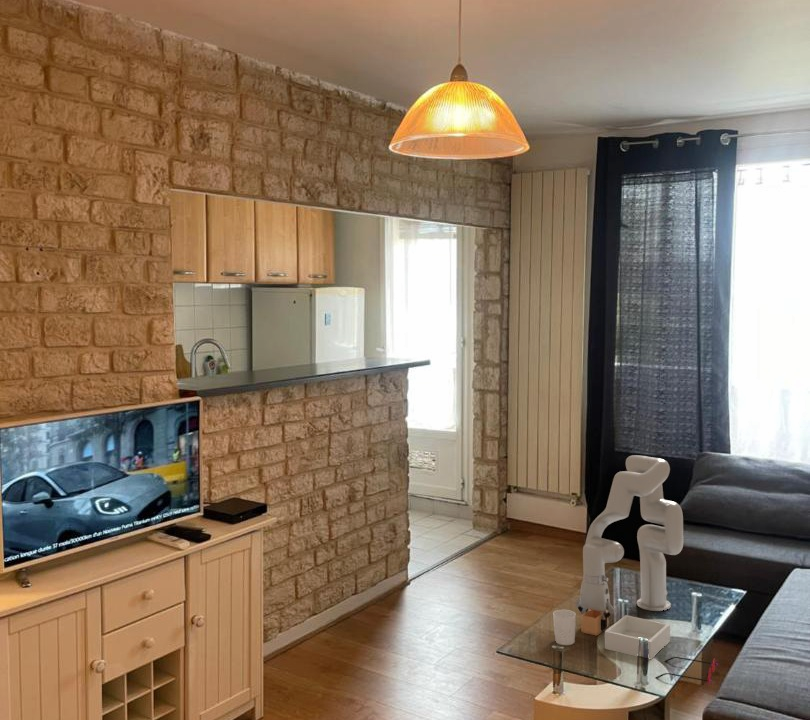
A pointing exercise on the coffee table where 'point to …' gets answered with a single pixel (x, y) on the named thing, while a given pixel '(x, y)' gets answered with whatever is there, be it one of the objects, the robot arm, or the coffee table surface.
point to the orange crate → (592, 622)
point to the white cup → (564, 626)
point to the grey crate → (636, 635)
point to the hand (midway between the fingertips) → (594, 626)
